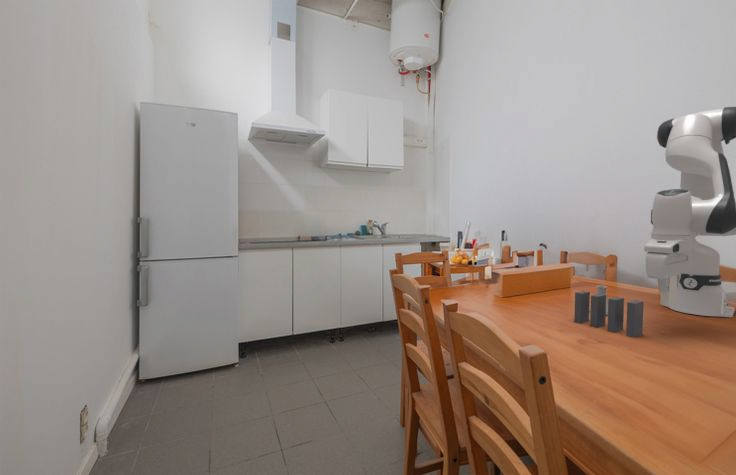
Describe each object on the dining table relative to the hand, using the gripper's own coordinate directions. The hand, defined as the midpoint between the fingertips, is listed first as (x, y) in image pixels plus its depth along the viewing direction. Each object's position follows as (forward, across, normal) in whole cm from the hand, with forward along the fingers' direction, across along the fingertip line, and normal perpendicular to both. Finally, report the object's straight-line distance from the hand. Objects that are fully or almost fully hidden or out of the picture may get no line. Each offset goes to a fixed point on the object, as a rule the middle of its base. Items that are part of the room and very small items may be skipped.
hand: (668, 290), depth 99 cm
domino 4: (+13, +11, -4) cm, 17 cm away
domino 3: (+13, +11, -9) cm, 19 cm away
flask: (+14, -5, -21) cm, 25 cm away
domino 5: (+4, 0, 0) cm, 4 cm away
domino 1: (+13, +11, -19) cm, 25 cm away
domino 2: (+13, +11, -14) cm, 22 cm away
